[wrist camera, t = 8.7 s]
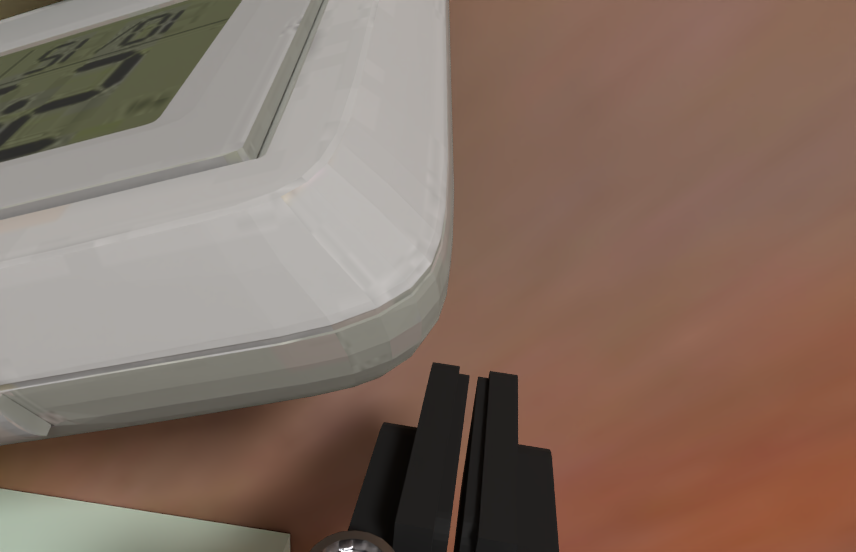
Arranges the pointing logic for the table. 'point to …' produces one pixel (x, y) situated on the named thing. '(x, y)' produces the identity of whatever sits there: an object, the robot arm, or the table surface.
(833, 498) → the table surface
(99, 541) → the mint u-shaped bracket
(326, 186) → the digital clock
